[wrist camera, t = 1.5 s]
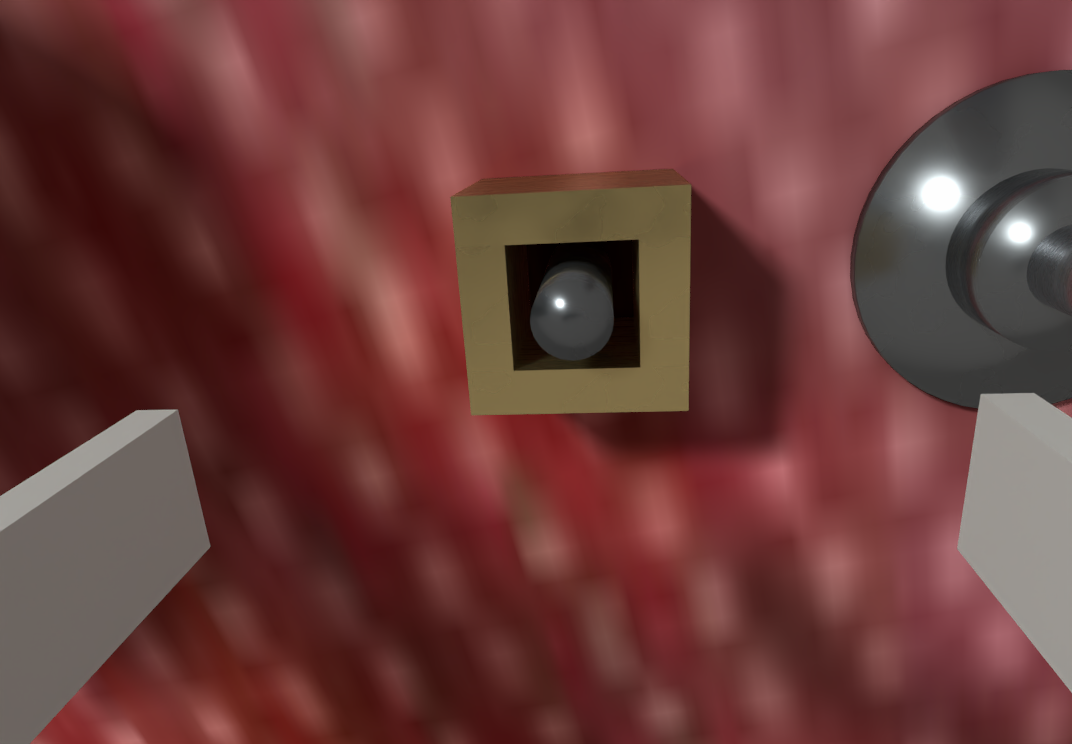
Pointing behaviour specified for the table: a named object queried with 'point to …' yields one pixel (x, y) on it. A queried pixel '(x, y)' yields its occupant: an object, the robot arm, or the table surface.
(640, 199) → the collar
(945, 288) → the hub
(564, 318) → the stand rod
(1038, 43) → the table surface
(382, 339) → the table surface
